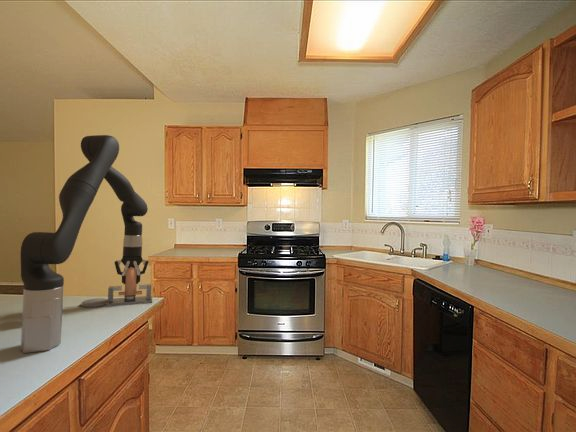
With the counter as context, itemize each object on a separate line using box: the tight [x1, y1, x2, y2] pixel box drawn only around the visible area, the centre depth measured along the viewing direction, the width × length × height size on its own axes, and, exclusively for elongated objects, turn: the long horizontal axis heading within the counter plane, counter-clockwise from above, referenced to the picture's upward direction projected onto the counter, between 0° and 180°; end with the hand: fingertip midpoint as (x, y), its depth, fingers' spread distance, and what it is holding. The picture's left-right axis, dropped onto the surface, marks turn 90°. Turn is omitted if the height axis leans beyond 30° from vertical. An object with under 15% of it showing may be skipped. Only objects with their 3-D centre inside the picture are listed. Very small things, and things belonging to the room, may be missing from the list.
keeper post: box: [105, 283, 153, 307], centre depth 137 cm, size 8×18×7 cm, turn 116°
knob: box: [118, 267, 143, 296], centre depth 137 cm, size 5×9×12 cm, turn 113°
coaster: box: [81, 297, 108, 309], centre depth 132 cm, size 10×10×1 cm
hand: (131, 283), depth 137 cm, fingers closed on knob, 4 cm apart
